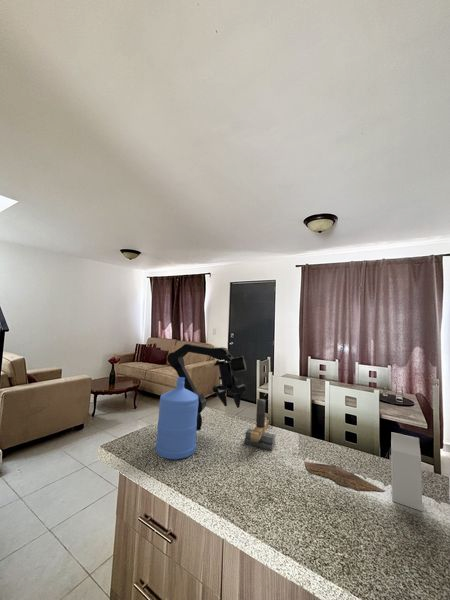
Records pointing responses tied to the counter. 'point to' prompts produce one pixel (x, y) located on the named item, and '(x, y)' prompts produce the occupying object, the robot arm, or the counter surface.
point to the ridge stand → (261, 440)
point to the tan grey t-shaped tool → (260, 422)
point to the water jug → (177, 423)
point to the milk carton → (406, 470)
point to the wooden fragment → (341, 477)
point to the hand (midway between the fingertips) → (232, 406)
